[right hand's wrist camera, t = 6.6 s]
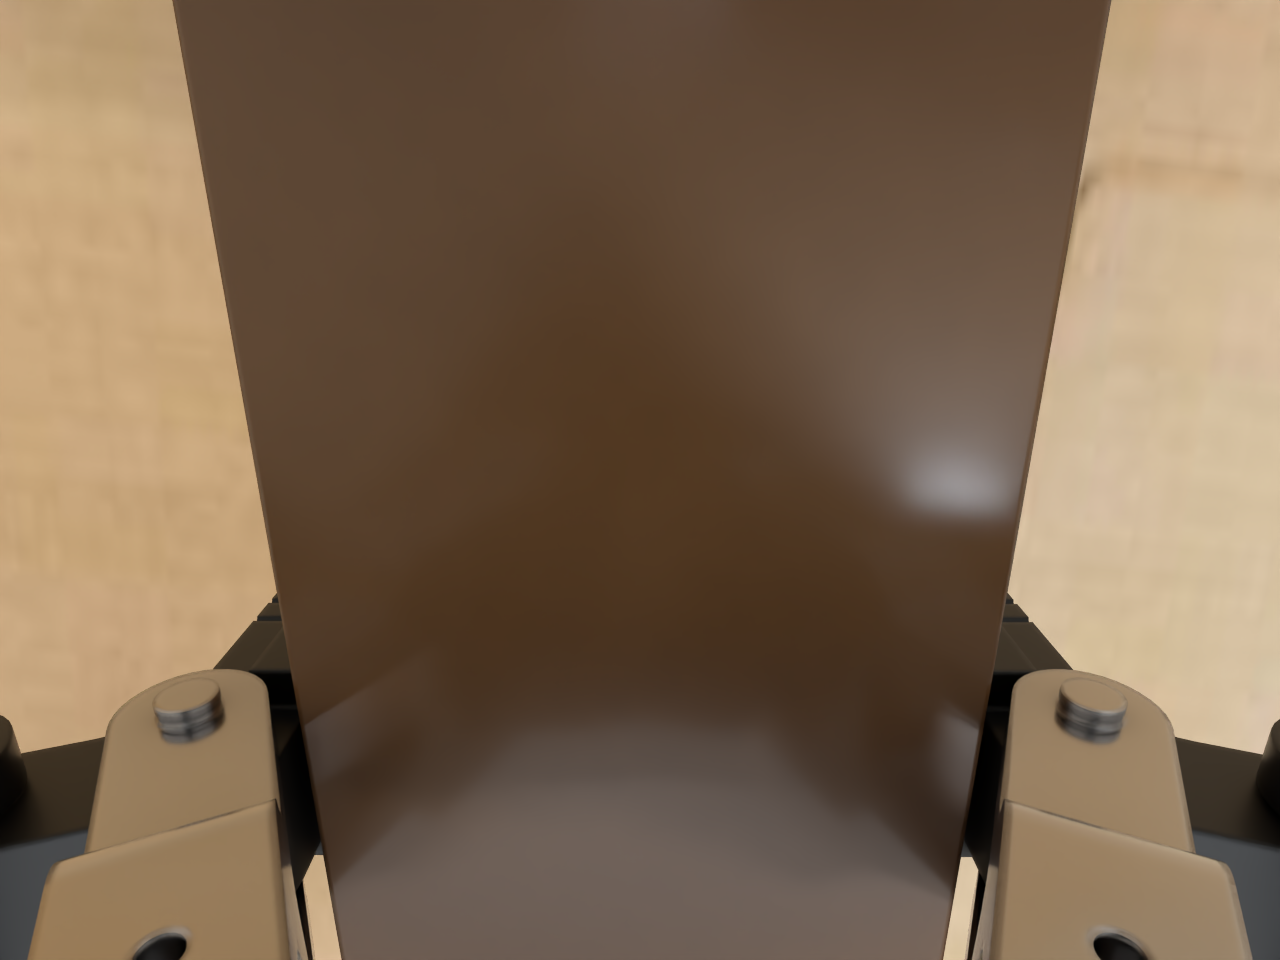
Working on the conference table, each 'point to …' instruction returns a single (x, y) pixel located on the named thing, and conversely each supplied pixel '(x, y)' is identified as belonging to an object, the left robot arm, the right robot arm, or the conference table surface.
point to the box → (642, 444)
